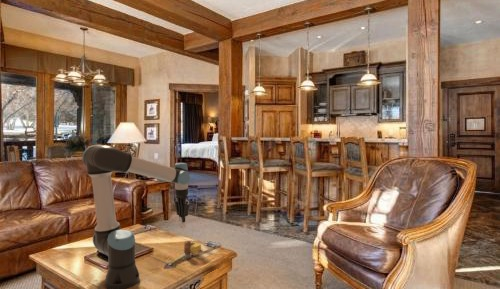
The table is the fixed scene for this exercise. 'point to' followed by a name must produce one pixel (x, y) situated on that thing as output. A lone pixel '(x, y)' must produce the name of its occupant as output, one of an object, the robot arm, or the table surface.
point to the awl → (187, 249)
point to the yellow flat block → (195, 247)
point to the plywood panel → (204, 251)
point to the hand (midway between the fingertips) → (182, 227)
